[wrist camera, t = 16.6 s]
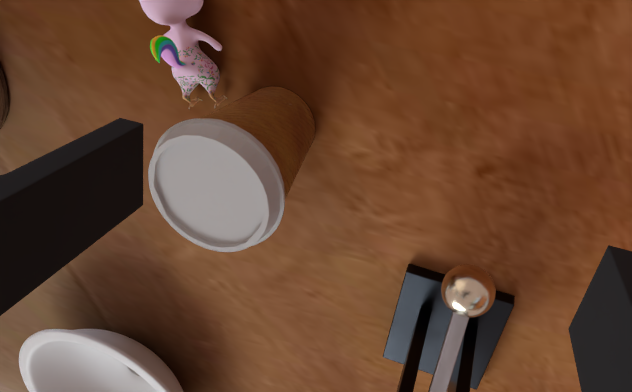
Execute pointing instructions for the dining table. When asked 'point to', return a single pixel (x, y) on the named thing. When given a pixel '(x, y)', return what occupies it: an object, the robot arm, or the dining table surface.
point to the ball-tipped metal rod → (460, 314)
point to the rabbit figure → (183, 46)
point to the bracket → (440, 332)
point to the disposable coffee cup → (232, 169)
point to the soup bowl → (92, 363)
